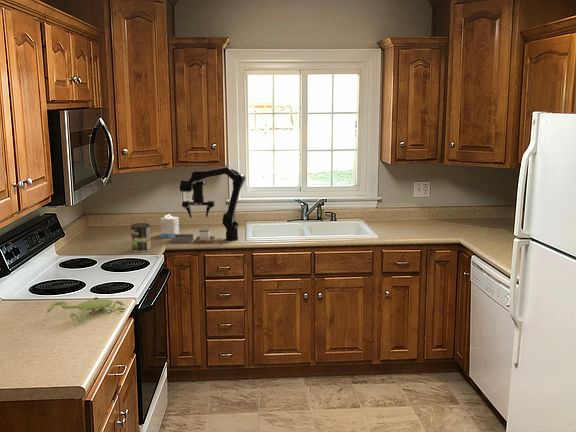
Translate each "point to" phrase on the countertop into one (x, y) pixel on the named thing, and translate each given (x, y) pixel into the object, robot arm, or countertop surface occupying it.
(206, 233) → the grey-fronted drawer box
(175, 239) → the grey drawer cabinet
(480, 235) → the countertop surface
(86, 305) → the figurine
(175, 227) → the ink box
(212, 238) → the walnut tray
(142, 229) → the coffee can
